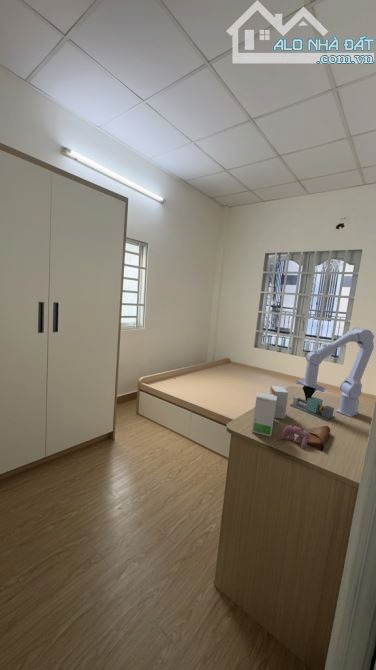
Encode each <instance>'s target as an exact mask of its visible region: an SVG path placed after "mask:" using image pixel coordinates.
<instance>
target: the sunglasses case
mask: <svg viewBox="0 0 376 670" xmlns="http://www.w3.org/2000/svg"><path fill="white" fill-rule="evenodd" d="M307 433H308V434H309V439H308V442H307V444H306V447H307V446H308V447H310V448H313V449H316V450H319V451H321V452H322V451H324V449H325V447H326V444H327V441H328V438H329V436H330V434H331V428H330V427H329V425H323V426H319V427H317V426H316V427H309V429H308V431H307Z"/></svg>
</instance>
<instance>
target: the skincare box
mask: <svg viewBox="0 0 376 670" xmlns="http://www.w3.org/2000/svg"><path fill="white" fill-rule="evenodd" d="M264 393H265V392H260V391H259V392H258V391H257V393H256V398H255V404H254V405H255V406H254V412H253V417H252V425H251V432H252V433H255V434H258V435H263V436H266V437H267V436H268V437H270V438H271V437H272V435H273V434H272V433H273V427H274V421H275V418H274V416H275V409H276V402H277V396H273V395H269V394H270V393H269V394H264Z"/></svg>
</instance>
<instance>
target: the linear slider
mask: <svg viewBox="0 0 376 670" xmlns="http://www.w3.org/2000/svg"><path fill="white" fill-rule="evenodd" d="M292 402H293V403H292V404H295V405H298V404H299V402H300V403H302V404H305V405H307V401H306V399H302V398H301V397H299V396H293V401H292ZM318 409H319V411H321V412H322V416H323V417H325V418H327V419H329V418H332V417H333V416H334V411H335V407H332V406H330V405H325V406H324V405H323V404H322V405H321V406H319V405H318ZM332 419H333V418H332ZM329 420H330V419H329Z"/></svg>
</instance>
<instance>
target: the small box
mask: <svg viewBox="0 0 376 670" xmlns="http://www.w3.org/2000/svg"><path fill="white" fill-rule="evenodd" d="M269 394H274V396H277V402H276V409H275V416H274V419H277V418H278V419H286V413H287V404H288V399H289V397H288V396H289V392H288V390H287V389H286V388H285V387H284V386H278V385H271V386H270V390H269Z"/></svg>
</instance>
